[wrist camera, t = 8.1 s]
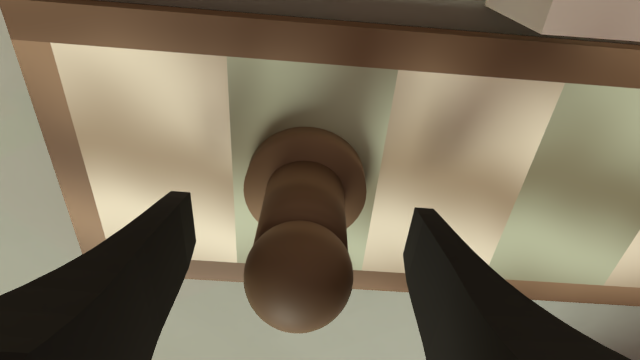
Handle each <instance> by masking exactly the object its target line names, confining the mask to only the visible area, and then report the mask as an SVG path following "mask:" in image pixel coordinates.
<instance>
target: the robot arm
mask: <svg viewBox="0 0 640 360" xmlns="http://www.w3.org/2000/svg"><path fill="white" fill-rule="evenodd" d="M195 244H196V235H195V227H194V218H193V210H192V202H191V194H190V192H180V191H170V192H169V193H168V194H166V195H165V196H164V197H162V198H161V199H160V200H158V201H157V202H156V203H155V204H153V205H152V206H151V207H150V208H148V209H147V210H146V211H144V212H143V213H142V214H140V215H139V216H138V217H137V218H135V219H134V220H133V221H131V222H130V223H129V224H127V225H126V226H125V227H123V228H122V229H120V230H119V231H117V232H116V233H114V234H113V235H112V236H110V237H109V238H107V239H106V240H104V241H103V242H101V243H100V244H98V245H97V246H95V247H94V248H92V249H91V250H89V251H87V252H86V253H84V254H82V255H81V256H79V257H77V258H76V259H74V260H72V261H70V262H69V263H67V264H65V265H63V266H61V267H59V268H58V269H56V270H54V271H52V272H50V273H48V274H46V275H43V276H41V277H39V278H37V279H35V280H33V281H31V282H29V283H27V284H25V285H23V286H21V287H19V288H16V289H14V290H12V291H10V292H7V293H5V294H3V295H0V360H151V359H152V356H153V353H154V350H155V347H156V344H157V341H158V338H159V336H160V333H161V331H162V328H163V326H164V324H165V321H166V319H167V317H168V315H169V312H170V310H171V308H172V306H173V303H174V301H175V299H176V297H177V294H178V292H179V290H180V287H181V285H182V283H183V280H184V278H185V276H186V273H187V271H188V269H189V265H190V262H191V259H192V255H193V252H194V248H195ZM403 260H404V269H405V276H406V283H407V287H408V290H409V294H410V298H411V302H412V306H413V309H414V313H415V317H416V320H417V324H418V328H419V332H420V335H421V339H422V343H423V347H424V351H425V356H426V360H631V359H629V358H627V357H625V356H623V355H621V354H619V353H617V352H615V351H613V350H611V349H609V348H607V347H605V346H603V345H602V344H600V343H598V342H596V341H595V340H593V339H591V338H589V337H588V336H586V335H584V334H583V333H581V332H579V331H577V330H576V329H574V328H572V327H571V326H569V325H568V324H566V323H564V322H563V321H561V320H560V319H558V318H557V317H555V316H554V315H552V314H551V313H549V312H548V311H546V310H545V309H543V308H542V307H540V306H539V305H537V304H536V303H535V302H533V301H532V300H530V299H529V298H528V297H526V296H525V295H524V294H522V293H521V292H520V291H519V290H517V289H516V288H515V287H514V286H512V285H511V284H510V283H509V282H507V281H506V280H505V279H504V278H503V277H501V276H500V275H499V274H498V273H497V272H496V271H495V270H493V269H492V268H491V267H490V266H489V265H488V264H487V263H486V262H485V261H484V260H482V259H481V258H480V257H479V256H478V255H477V254H476V253H475V252H474V251H473V250H472V249H471V248H470V247H469V246H468V245H467V244H466V243H465V242H464V241H463V240H462V239H461V237H460V236H459V235H458V234H457V233H456V232H455V231H454V230H453V229H452V228H451V227H450V226H449V225H448V223H447V222H446V221H445V220H444V219H443V218H442V217H441V216H440V215H439V214H438V213H437V212H436V211H435V210H434V209H432V208H417V207H415V208H414V212H413V216H412V220H411V224H410V228H409V232H408V236H407V240H406V244H405V248H404V252H403Z"/></svg>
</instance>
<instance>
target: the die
mask: <svg viewBox="0 0 640 360" xmlns="http://www.w3.org/2000/svg"><path fill="white" fill-rule="evenodd" d="M485 6H486V7H488V8H490V9H492V10H494V11H496V12H498V13H500V14H502V15H504V16H506V17H508V18H510V19H512V20H514V21H516V22H518V23H520V24H522V25H524V26H526V27H528V28H530V29H532V30H534V31H536V32H537V33H539V34H544V35H557V36H571V37H584V38H598V39H611V40H625V41H638V42H640V0H486V2H485Z"/></svg>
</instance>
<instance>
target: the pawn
mask: <svg viewBox="0 0 640 360" xmlns="http://www.w3.org/2000/svg"><path fill="white" fill-rule="evenodd" d="M243 191H244V198H245V202H246V205H247V207H248V209H249V211H250V213H251V214H252V216H253V217H254V218H255V219H256V221H257V222H258V226H257V231H256V235H255V239H254V244H253V247H252V248H251V250H250V252H249V254H248V256H247V259H246V263H245V267H244V288H245V293H246V296H247V298H248V301H249V303H250V305H251V307H252V308H253V310H254V311H255V312H256V314H257V315H258V316H259V317H260V318H261V319H262V320H263V321H264V322H266V323H267V324H269V325H270V326H272V327H274V328H276V329H278V330H281V331H284V332H289V333H307V332H311V331H314V330H317V329H320V328H322V327H324V326H326V325H327V324H329V323H330V322H331V321H333V320H334V319H335V318H336V317H337V316H338V315H339V314H340V313H341V311H342V310H343V308H344V307H345V305H346V304H347V301H348V299H349V297H350V294H351V291H352V286H353V266H352V262H351V258H350V255H349V253H348V242H347V228H348V227H350V226H351V225H352V224H353V223H354V222H355V220H356V219H357V218H358V217H359V215H360V213H361V212H362V210H363V207H364V205H365V201H366V193H367V191H366V182H365V175H364V170H363V165H362V162H361V160H360V158H359V156H358V154H357V152H356V151H355V150H354V148H353V147H352V146H351V145H350V144H349V143H348V142H347V141H345V140H344V139H343V138H341V137H340V136H338V135H336V134H334V133H332V132H330V131H327V130H324V129H320V128H315V127H294V128H289V129H285V130H282V131H280V132H277V133H275V134H274V135H272V136H270V137H269V138H267V139H266V140H265V141H264V142H263V143H261V144H260V145H259V147H258V148H257V149H256V151H255V152H254V154H253V156H252V158H251V161H250V163H249V167H248V170H247V173H246V176H245V180H244V189H243Z"/></svg>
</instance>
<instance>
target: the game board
mask: <svg viewBox="0 0 640 360" xmlns="http://www.w3.org/2000/svg"><path fill="white" fill-rule="evenodd" d="M0 8H1V11H2V14H3V17H4V20H5V23H6V26H7V29H8V32H9V35H10V38H11V41H12V44H13V47H14V50H15V53H16V56H17V59H18V62H19V65H20V68H21V71H22V74H23V77H24V80H25V83H26V86H27V89H28V92H29V95H30V98H31V101H32V104H33V107H34V110H35V113H36V116H37V119H38V122H39V125H40V128H41V131H42V134H43V137H44V140H45V143H46V146H47V149H48V152H49V155H50V158H51V161H52V164H53V167H54V170H55V173H56V176H57V179H58V182H59V185H60V188H61V191H62V194H63V197H64V200H65V203H66V206H67V209H68V212H69V215H70V218H71V221H72V224H73V227H74V230H75V233H76V236H77V239H78V242H79V245H80V248H81V251H82V254H84V253H86V252H87V251H89V250H91V249H92V248H94V247H95V246H97V245H98V244H100V243H101V242H103V241H104V240H106V239H107V238H109V237H110V236H112V235H113V234H114V233H116V232H117V231H119V230H120V229H122V228H123V227H125V226H126V225H127V224H129V223H130V222H131V221H133V220H134V219H135V218H137V217H138V216H139V215H140V214H142V213H143V212H144V211H146V210H147V209H148V208H150V207H151V206H152V205H153V204H155V203H156V202H157V201H158V200H160V199H161V198H162V197H164V196H165V195H166V194H168V193H169V192H170V191H180V192H190V194H191V202H192V210H193V218H194V227H195V235H196V244H195V248H194V252H193V255H192V259H191V262H190V265H189V269H188V271H187V273H186V276H185V278H184V279H198V280H215V281H231V282H244V267H245V263H246V259H247V256H248V254H249V252H250V250H251V248H252V247H253V244H254V239H255V235H256V231H257V226H258V222H257V221H256V219H255V218H254V217H253V216H252V214H251V213H250V211H249V209H248V207H247V205H246V202H245V198H244V191H243V189H244V180H245V176H246V173H247V170H248V167H249V163H250V161H251V158H252V156H253V154H254V152H255V151H256V149H257V148H258V147H259V145H260V144H261V143H263V142H264V141H265V140H266V139H267V138H269V137H270V136H272V135H274V134H275V133H277V132H280V131H282V130H285V129H289V128H294V127H315V128H320V129H324V130H327V131H330V132H332V133H334V134H336V135H338V136H340V137H341V138H343V139H344V140H345V141H347V142H348V143H349V144H350V145H351V146H352V147H353V148H354V150H355V151H356V152H357V154H358V156H359V158H360V160H361V162H362V165H363V170H364V175H365V182H366V191H367V193H366V201H365V205H364V207H363V210H362V212H361V213H360V215H359V217H358V218H357V219H356V220H355V222H354V223H353V224H352V225H351V226H350V227H348V228H347V242H348V253H349V255H350V258H351V262H352V266H353V286H352V289H363V290H380V291H396V292H409V290H408V287H407V283H406V276H405V269H404V260H403V252H404V248H405V244H406V240H407V236H408V232H409V228H410V224H411V220H412V216H413V212H414V208H415V207H417V208H432V209H434V210H435V211H436V212H437V213H438V214H439V215H440V216H441V217H442V218H443V219H444V220H445V221H446V222H447V223H448V225H449V226H450V227H451V228H452V229H453V230H454V231H455V232H456V233H457V234H458V235H459V236H460V237H461V239H462V240H463V241H464V242H465V243H466V244H467V245H468V246H469V247H470V248H471V249H472V250H473V251H474V252H475V253H476V254H477V255H478V256H479V257H480V258H481V259H482V260H484V261H485V262H486V263H487V264H488V265H489V266H490V267H491V268H492V269H493V270H495V271H496V272H497V273H498V274H499V275H500V276H501V277H503V278H504V279H505V280H506V281H507V282H509V283H510V284H511V285H512V286H514V287H515V288H516V289H517V290H519V291H520V292H521V293H522V294H524V295H525V296H526V297H528V298H529V299H530V300H545V301H561V302H578V303H594V304H611V305H627V306H640V45H633V44H621V43H609V42H596V41H584V40H572V39H560V38H548V37H535V36H523V35H511V34H499V33H487V32H474V31H462V30H450V29H438V28H425V27H413V26H401V25H389V24H377V23H364V22H352V21H340V20H328V19H315V18H303V17H291V16H279V15H267V14H254V13H242V12H230V11H218V10H206V9H193V8H181V7H169V6H157V5H144V4H132V3H120V2H108V1H96V0H0Z"/></svg>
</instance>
